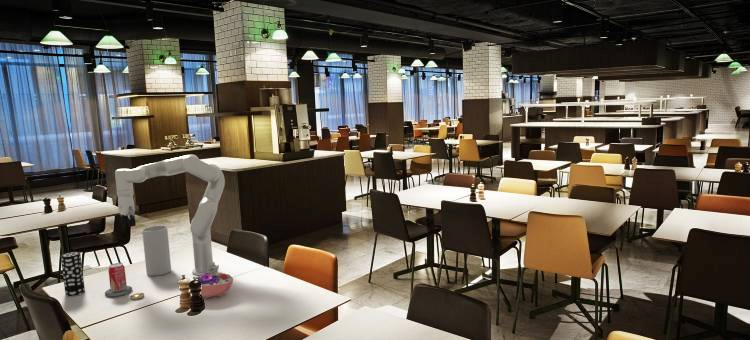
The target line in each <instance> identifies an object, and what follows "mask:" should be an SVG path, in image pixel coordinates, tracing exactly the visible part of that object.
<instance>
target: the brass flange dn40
mask: <svg viewBox="0 0 750 340" xmlns="http://www.w3.org/2000/svg"><path fill="white" fill-rule="evenodd" d="M129 298H130V300H131V301H138V300H141V299H143V298H145V293H143V292H137V293H133V294H131V295H130V296H129Z"/></svg>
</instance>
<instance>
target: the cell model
mask: <svg viewBox="0 0 750 340" xmlns="http://www.w3.org/2000/svg"><path fill="white" fill-rule="evenodd" d="M195 278H196V279H198V280H199V281H201V283H202V289H201V295H202V296H203V297H202V298H213V297H222V296H224V295H225V294H227V293H228V292H229V291H230V289H231V287H232V285H233V282H234V277H232V276H231V274H228V273H223V272H219V273H218V272H217V273H210V274H208V273H203V274H202V275H197V276H196V277H195Z"/></svg>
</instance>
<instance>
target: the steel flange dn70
mask: <svg viewBox="0 0 750 340" xmlns="http://www.w3.org/2000/svg"><path fill="white" fill-rule="evenodd" d="M132 292H133V286H130V285H127V287H126V289H125V290H123V291H121V292H112V291H111V288H109V289H107V290H105V292H104V296H105V297H106V298H119V297H123V296H126V295H129V294H130V293H132Z"/></svg>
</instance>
